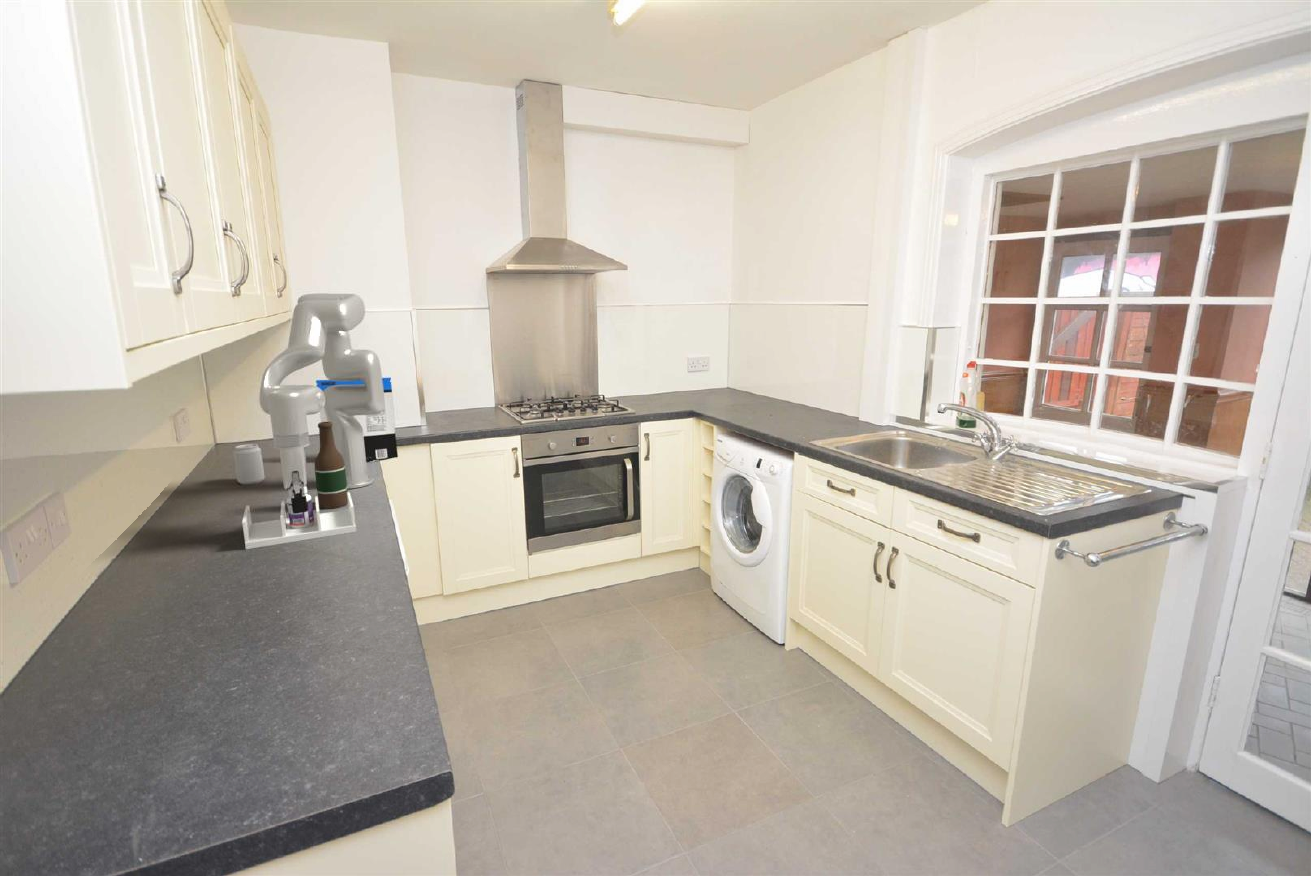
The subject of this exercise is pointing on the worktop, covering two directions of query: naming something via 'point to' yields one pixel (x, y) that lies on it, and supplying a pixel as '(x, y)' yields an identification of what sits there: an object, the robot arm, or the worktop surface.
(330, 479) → the beer bottle
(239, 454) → the can
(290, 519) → the pill bottle
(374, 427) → the protein powder
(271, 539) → the shelf rack
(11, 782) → the worktop surface
